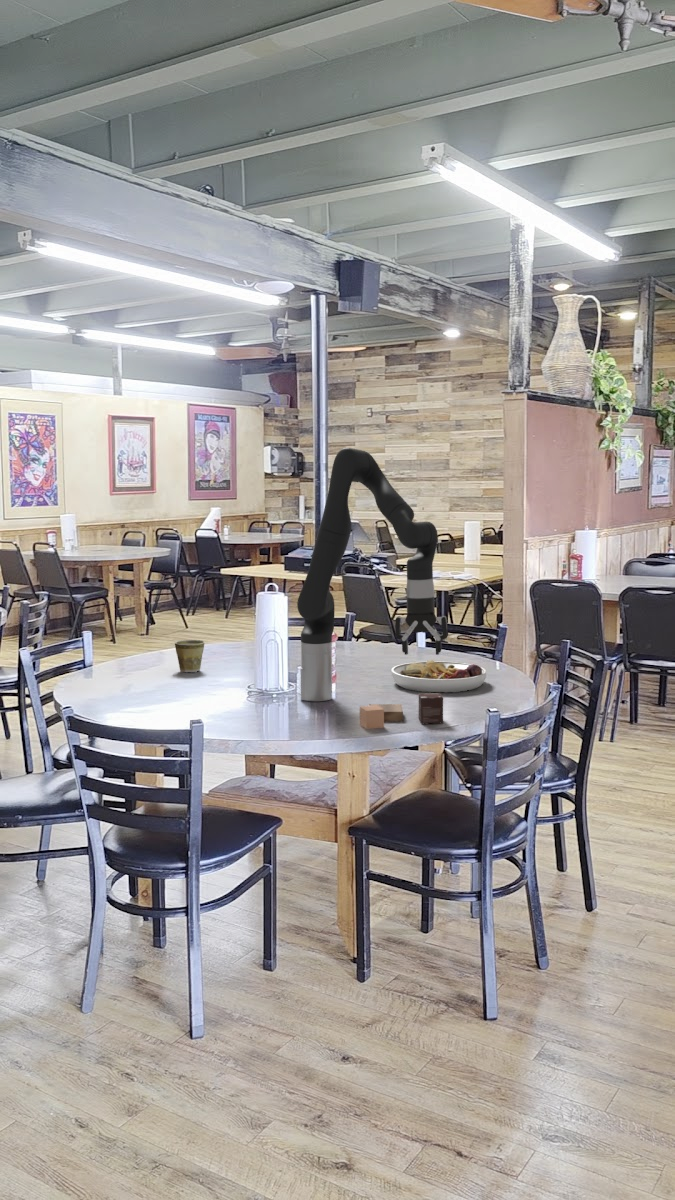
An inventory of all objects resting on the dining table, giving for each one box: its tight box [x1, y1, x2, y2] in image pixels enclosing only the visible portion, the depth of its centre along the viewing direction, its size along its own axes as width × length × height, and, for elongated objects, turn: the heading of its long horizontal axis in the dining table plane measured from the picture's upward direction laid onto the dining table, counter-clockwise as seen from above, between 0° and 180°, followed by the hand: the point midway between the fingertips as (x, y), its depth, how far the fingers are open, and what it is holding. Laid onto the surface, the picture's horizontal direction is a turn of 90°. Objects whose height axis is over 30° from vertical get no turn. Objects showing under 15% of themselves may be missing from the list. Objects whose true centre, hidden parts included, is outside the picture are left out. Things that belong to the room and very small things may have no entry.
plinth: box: [368, 703, 404, 722], centre depth 277 cm, size 9×9×3 cm
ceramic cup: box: [174, 639, 205, 673], centre depth 345 cm, size 13×10×10 cm
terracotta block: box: [359, 705, 385, 730], centre depth 267 cm, size 5×5×5 cm
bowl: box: [391, 660, 487, 693], centre depth 320 cm, size 30×30×8 cm
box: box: [418, 692, 444, 724], centre depth 272 cm, size 6×6×7 cm
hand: (422, 654), depth 276 cm, fingers open, 8 cm apart
